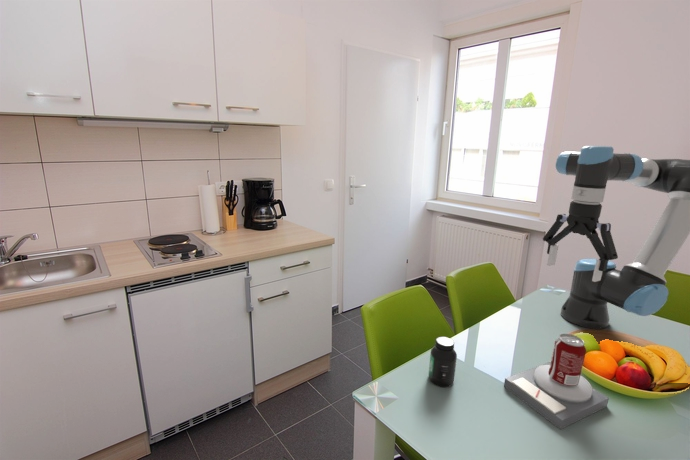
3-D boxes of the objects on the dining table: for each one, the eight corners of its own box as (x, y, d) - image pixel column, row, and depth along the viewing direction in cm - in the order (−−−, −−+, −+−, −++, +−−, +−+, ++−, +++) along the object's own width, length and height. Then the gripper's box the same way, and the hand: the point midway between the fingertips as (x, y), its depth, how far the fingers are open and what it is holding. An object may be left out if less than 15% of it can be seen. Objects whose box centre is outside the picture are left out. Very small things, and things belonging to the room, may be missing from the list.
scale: (548, 369, 103) (550, 357, 102) (606, 406, 89) (610, 392, 88) (503, 386, 96) (505, 373, 95) (560, 429, 82) (563, 414, 81)
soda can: (582, 391, 89) (592, 348, 86) (553, 386, 90) (562, 345, 87) (571, 373, 95) (580, 334, 92) (544, 370, 96) (552, 330, 93)
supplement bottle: (426, 384, 96) (430, 345, 93) (429, 369, 102) (433, 332, 99) (452, 390, 93) (457, 350, 90) (454, 375, 100) (459, 337, 97)
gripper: (537, 195, 109) (526, 260, 115) (628, 211, 87) (610, 290, 93) (553, 194, 112) (542, 257, 118) (645, 209, 91) (626, 286, 96)
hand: (572, 272), depth 105 cm, fingers open, 13 cm apart
